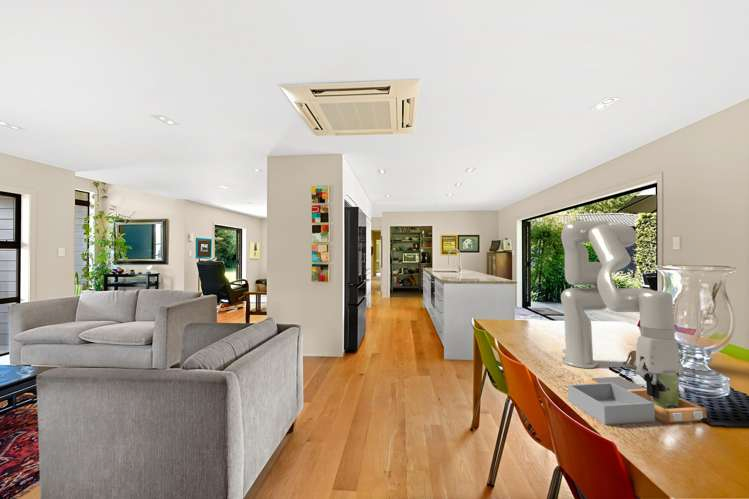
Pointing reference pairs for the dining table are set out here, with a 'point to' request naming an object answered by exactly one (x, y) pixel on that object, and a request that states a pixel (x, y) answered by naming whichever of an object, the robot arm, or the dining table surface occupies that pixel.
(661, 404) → the beverage can
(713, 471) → the dining table surface
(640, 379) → the hard drive
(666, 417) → the case
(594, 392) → the parts bin
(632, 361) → the lion figurine
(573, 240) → the robot arm
